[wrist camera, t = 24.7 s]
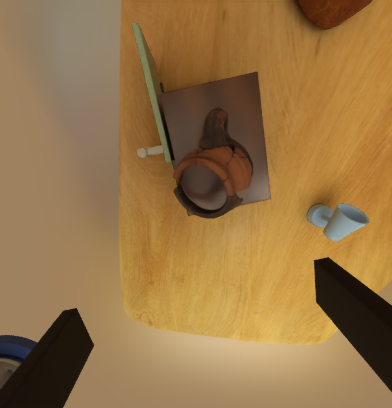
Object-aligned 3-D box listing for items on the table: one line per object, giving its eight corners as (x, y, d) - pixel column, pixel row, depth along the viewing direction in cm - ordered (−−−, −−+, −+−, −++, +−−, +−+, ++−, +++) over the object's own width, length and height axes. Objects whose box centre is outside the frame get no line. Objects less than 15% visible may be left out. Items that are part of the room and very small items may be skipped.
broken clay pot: (256, 195, 27) (244, 230, 21) (196, 189, 31) (170, 218, 25) (260, 99, 21) (245, 109, 15) (185, 107, 25) (147, 118, 19)
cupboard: (181, 198, 39) (176, 218, 27) (154, 84, 33) (133, 49, 22) (247, 184, 38) (271, 199, 27) (231, 66, 33) (252, 20, 21)
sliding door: (153, 163, 36) (139, 168, 26) (128, 68, 32) (99, 31, 22) (177, 158, 36) (171, 161, 26) (154, 61, 31) (138, 22, 22)
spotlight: (313, 194, 39) (301, 225, 41) (352, 208, 29) (335, 247, 31) (335, 198, 39) (323, 229, 41) (382, 214, 30) (363, 252, 32)
